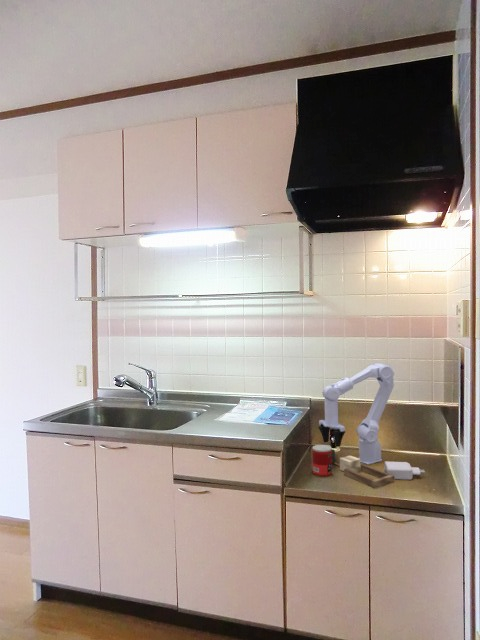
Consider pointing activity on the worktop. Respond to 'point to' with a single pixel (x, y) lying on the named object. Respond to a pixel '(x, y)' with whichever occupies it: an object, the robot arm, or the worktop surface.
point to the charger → (401, 470)
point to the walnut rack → (382, 478)
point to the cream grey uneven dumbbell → (347, 462)
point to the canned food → (322, 460)
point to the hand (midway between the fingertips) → (332, 444)
